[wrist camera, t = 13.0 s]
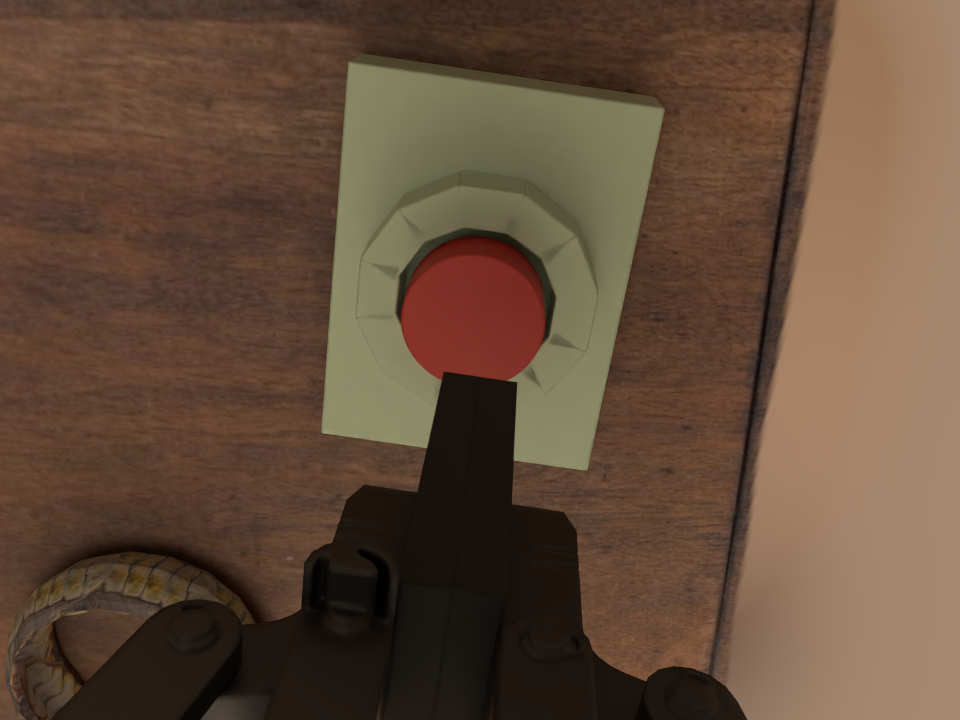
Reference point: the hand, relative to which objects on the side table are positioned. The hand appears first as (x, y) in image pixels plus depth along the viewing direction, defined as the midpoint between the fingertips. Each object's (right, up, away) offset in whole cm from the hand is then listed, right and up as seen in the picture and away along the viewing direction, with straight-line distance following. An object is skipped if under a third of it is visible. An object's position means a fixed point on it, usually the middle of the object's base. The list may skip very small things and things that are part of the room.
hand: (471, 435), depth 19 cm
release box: (0, +5, +11) cm, 12 cm away
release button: (0, +3, +8) cm, 9 cm away
